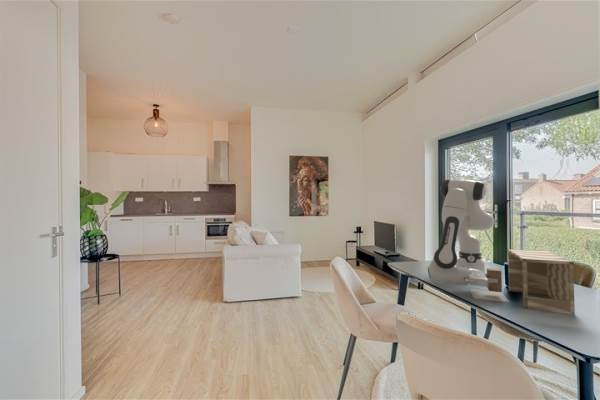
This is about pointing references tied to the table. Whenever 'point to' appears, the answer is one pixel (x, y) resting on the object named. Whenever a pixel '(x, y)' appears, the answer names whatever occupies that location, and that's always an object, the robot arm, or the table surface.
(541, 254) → the cubby
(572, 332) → the table surface
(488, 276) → the block
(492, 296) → the mat
